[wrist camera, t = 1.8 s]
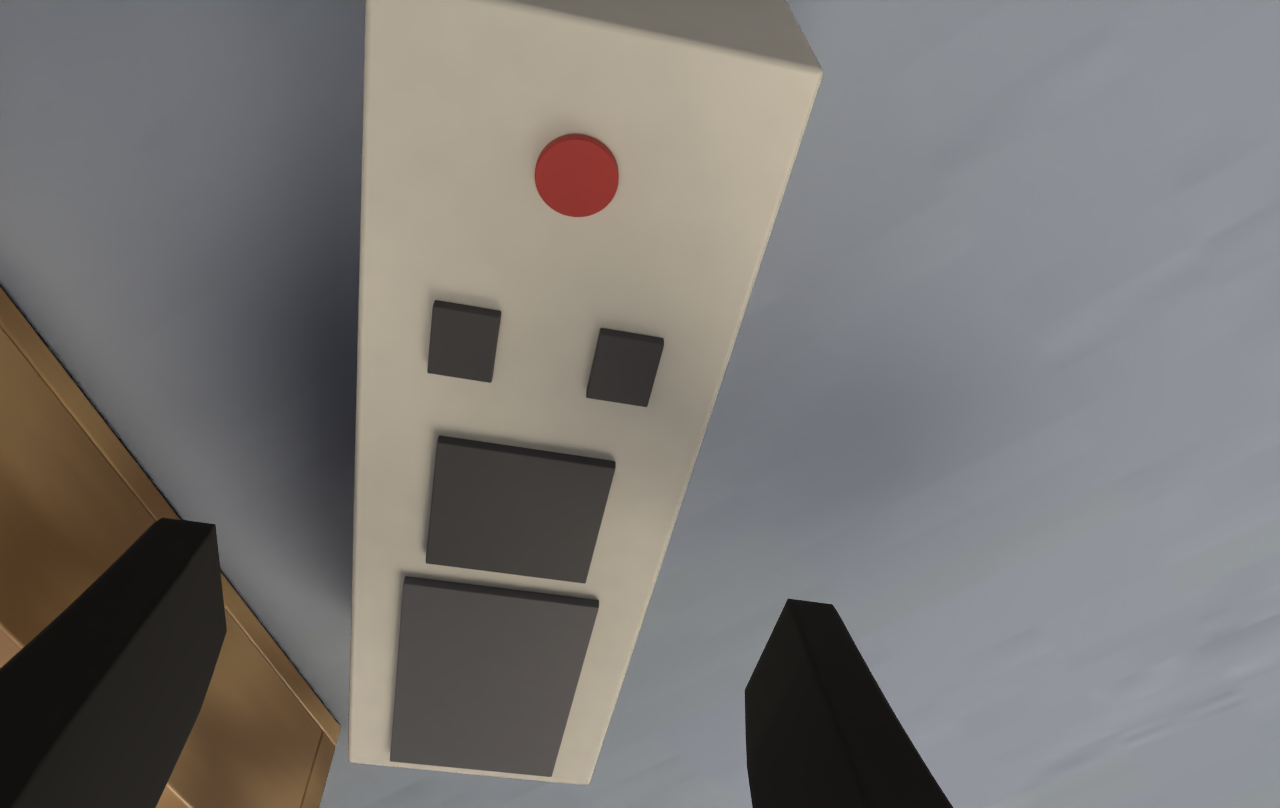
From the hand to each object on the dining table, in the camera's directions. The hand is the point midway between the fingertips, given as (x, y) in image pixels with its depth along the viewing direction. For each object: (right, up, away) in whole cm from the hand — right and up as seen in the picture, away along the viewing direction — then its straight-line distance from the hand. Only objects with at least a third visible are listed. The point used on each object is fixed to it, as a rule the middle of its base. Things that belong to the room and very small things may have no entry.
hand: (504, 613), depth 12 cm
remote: (0, +3, +4) cm, 5 cm away
